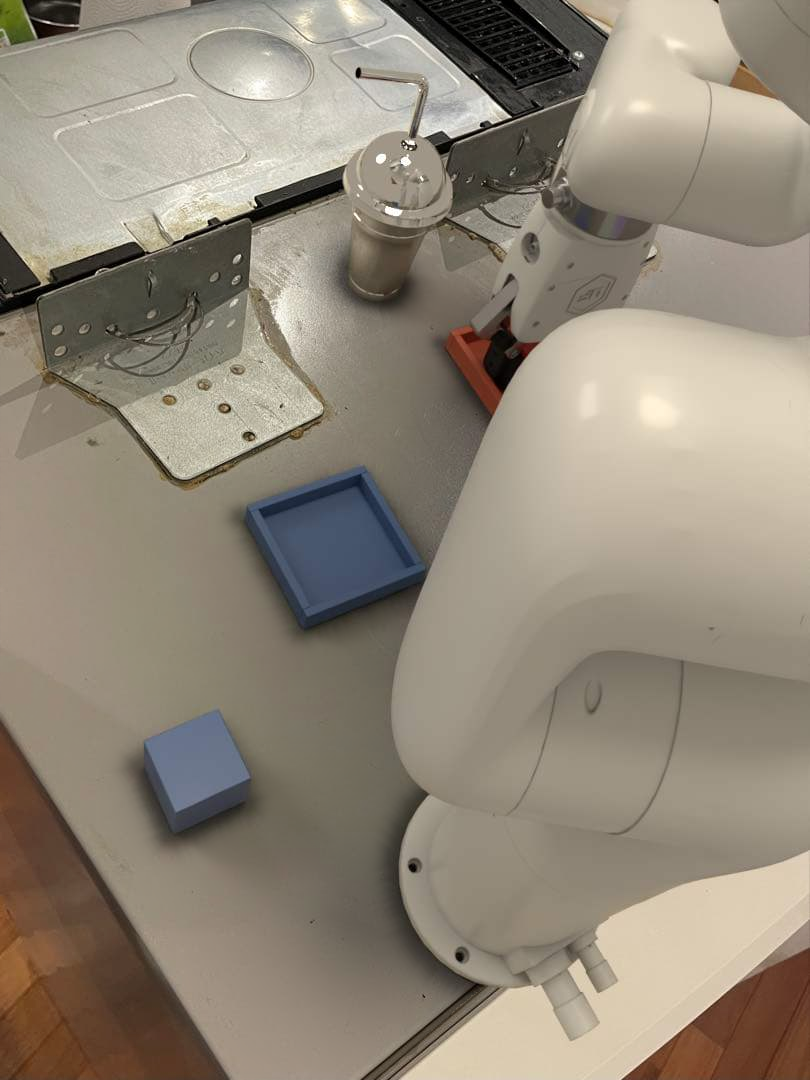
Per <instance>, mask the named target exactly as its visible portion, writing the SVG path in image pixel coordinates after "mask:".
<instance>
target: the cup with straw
mask: <svg viewBox="0 0 810 1080" xmlns="http://www.w3.org/2000/svg"><path fill="white" fill-rule="evenodd" d="M354 74H355V78H356V79H357V80H365V81H375V82H376V81H377V82H386V83H394V84H395V83H396V84H406V85H416V86H417V87H418V89H417V91H418V92H417V93H416V94H417V95H416V98H415V102H414V107H413V111H412V114H411V119H410V123H409V126H408V130H407V131H405V130H393V131H387V132H385V133H383V134H380V135H378V136H376V137H374V138H373V139H372V140H371V141H370V142H369V143H368V144H366V146H365V147H362V148H361V149H360V148H359V150H357V151H356V152H355V153H354V154H352V155H351V157H349V159H348V161H347V163H346V165H345V167H344V170H343V174H342V185H343V188H344V192H345V194H346V195H347V197H348V199H349V201H350V211H351V223H350V238H349V250H348V264H347V266H348V267H347V270H348V273H347V276H346V277H347V279H346V280H347V284H348V285H349V287H350V288H351V290H352V291H353V292H354V293H355V294H356V295H357V296H358V297H361V298H363V299H365V300H368V301H370V302H386V301H390V300H392V299H394V298H396V296H397V295H399V292H400V290H401V288H402V287H401V286H402V285H403V284H404V282H405V280H406V278H407V276H408V273H409V272H410V269H411V267H412V265H413V263H414V260H415V258H416V256H417V254H418V252H419V249H420V247H421V245H422V243H423V241H424V238H425V236H426V235H427V234H428V233H429V231H430V230H431V228H432V227H433V225H435V224H436V223H438V222H440V221H442V220H443V219H444V218H445V217H446V216H447V215H448V214H449V212H450V210H451V208H452V205H453V201H454V199H453V198H454V196H453V195H454V186H453V182H452V180H451V177H450V175H449V173H448V171H446V167H445V164H444V161H443V157H442V156H441V154H440V152H439V151H438V150H437V148H436V147H435V146H434V145H433V143H431V142H430V141H429V140H428V139H426V138H424V137H423V136H421V135H419V133H418V132H419V130H420V129H419V128H420V125H421V121H422V119H423V114H424V110H425V107H426V102H427V99H428V95H429V92H430V83H429V81H428V79H427V78H426V76H425V75H423V74H421V73H417V72H409V71H408V72H407V71H397V70H388V69H380V68H379V69H378V68H369V67H360V66H358V67H356V69H355V73H354Z"/></svg>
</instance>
